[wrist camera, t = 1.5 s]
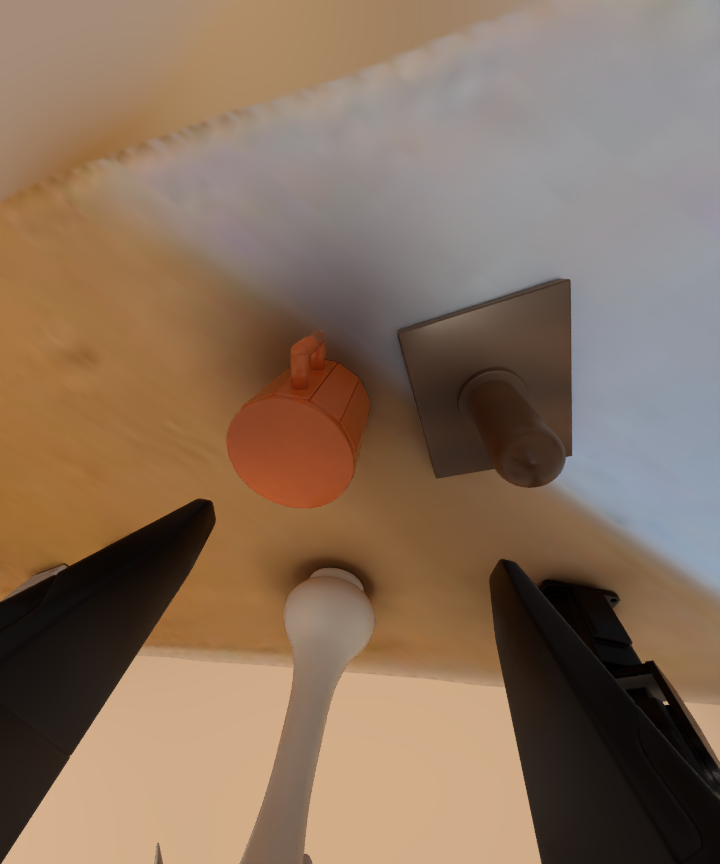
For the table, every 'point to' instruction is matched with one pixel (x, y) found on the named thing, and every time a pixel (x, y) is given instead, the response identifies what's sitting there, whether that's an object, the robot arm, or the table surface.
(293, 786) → the flower vase
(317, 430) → the orange cup
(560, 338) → the cup stand
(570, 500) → the table surface
